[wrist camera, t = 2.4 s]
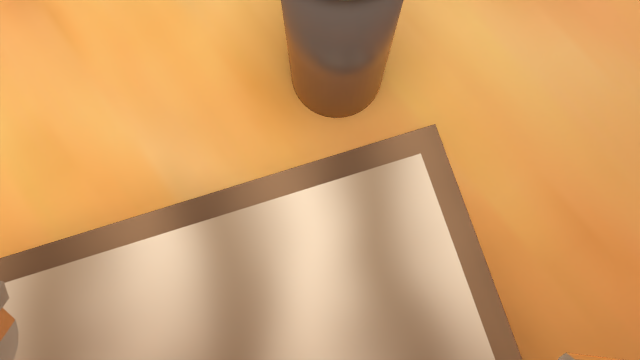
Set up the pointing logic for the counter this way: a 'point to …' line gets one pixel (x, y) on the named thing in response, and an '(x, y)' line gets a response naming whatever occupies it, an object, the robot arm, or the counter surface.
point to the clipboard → (276, 271)
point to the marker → (338, 51)
